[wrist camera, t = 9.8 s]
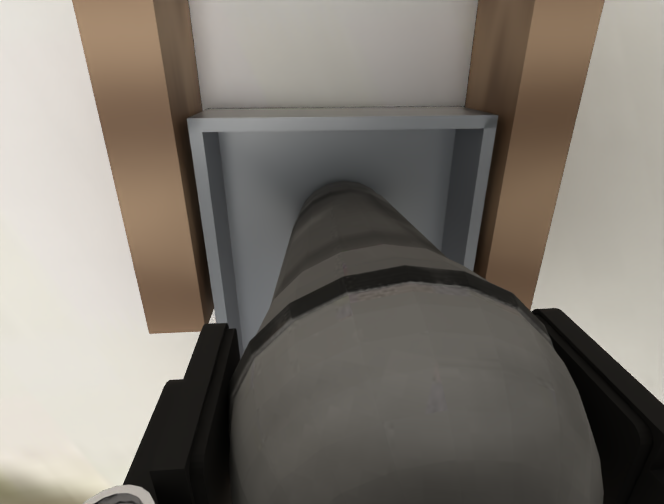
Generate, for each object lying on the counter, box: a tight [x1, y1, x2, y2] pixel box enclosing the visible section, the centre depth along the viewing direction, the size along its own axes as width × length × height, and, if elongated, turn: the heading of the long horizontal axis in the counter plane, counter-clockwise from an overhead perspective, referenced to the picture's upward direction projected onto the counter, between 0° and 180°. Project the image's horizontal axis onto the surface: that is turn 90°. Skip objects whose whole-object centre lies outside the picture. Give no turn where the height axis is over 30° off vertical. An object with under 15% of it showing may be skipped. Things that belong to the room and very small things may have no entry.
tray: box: [187, 106, 498, 359], centre depth 19 cm, size 19×16×8 cm
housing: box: [72, 0, 604, 334], centre depth 17 cm, size 20×18×5 cm
